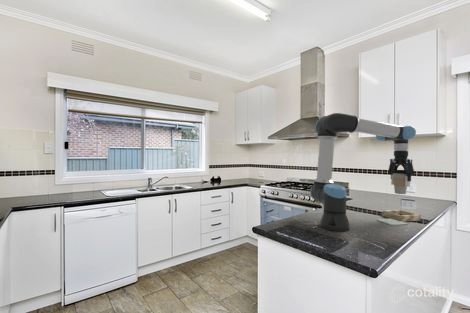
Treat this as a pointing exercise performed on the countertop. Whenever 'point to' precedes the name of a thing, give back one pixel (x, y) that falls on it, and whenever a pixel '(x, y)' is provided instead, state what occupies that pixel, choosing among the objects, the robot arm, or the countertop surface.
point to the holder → (402, 215)
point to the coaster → (392, 222)
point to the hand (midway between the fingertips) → (400, 185)
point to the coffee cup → (399, 181)
